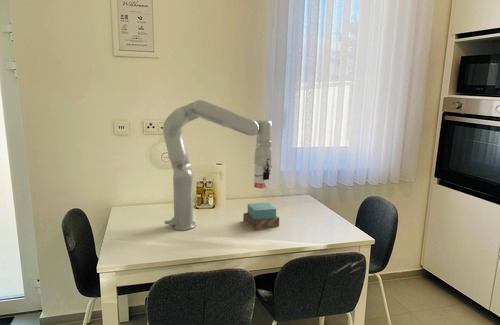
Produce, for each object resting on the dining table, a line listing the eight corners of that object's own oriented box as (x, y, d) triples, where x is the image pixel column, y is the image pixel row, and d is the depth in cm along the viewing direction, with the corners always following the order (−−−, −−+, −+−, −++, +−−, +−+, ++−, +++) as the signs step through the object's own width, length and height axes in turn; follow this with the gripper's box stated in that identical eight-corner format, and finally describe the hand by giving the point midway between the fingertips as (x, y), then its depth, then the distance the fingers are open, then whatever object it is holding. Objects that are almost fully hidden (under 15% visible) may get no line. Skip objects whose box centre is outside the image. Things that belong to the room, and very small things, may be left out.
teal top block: (254, 219, 190) (254, 210, 189) (247, 212, 202) (247, 203, 201) (275, 218, 194) (276, 209, 193) (268, 211, 205) (268, 202, 204)
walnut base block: (255, 230, 189) (256, 221, 188) (243, 222, 201) (243, 213, 200) (279, 226, 196) (279, 217, 195) (265, 218, 208) (265, 209, 207)
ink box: (261, 189, 190) (261, 166, 188) (253, 187, 193) (254, 165, 191) (270, 185, 197) (271, 164, 195) (263, 184, 200) (264, 162, 198)
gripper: (249, 142, 197) (248, 175, 200) (266, 147, 182) (264, 182, 185) (261, 141, 200) (260, 174, 204) (279, 146, 185) (277, 181, 189)
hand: (262, 177), depth 194 cm, fingers closed on ink box, 6 cm apart
